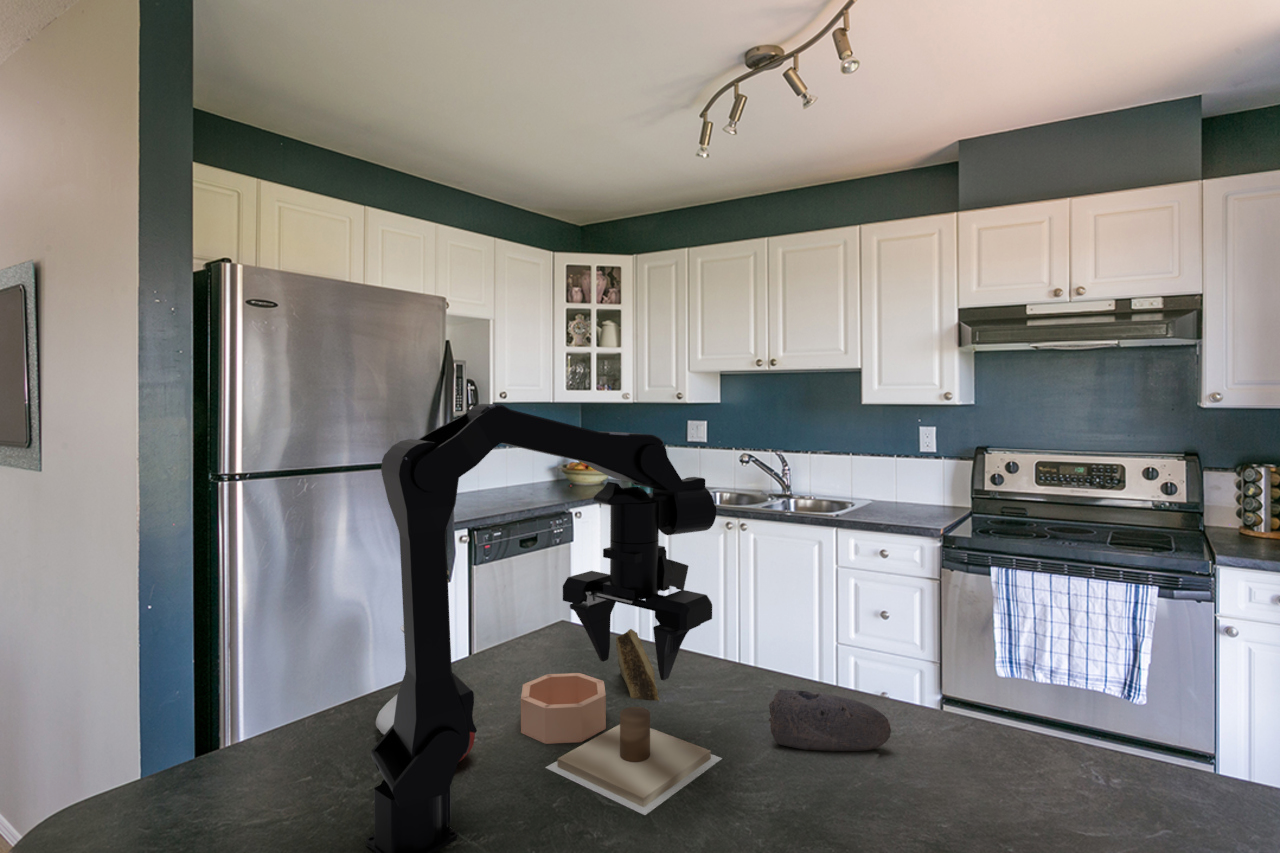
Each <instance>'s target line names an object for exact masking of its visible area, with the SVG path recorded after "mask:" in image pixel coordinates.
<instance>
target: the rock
mask: <svg viewBox="0 0 1280 853" xmlns="http://www.w3.org/2000/svg"><path fill="white" fill-rule="evenodd" d="M615 642H616V643H615V646H616V647H615V649H616V654H617V662H618V663H617V664H618V667H619V672H620V675H621V676H622V679H623V680H624V682H625V685H626V686H627V689H628V692H629V696H630V698H631V699H635V700H643V701H660V697H659V692H658V688H657V685H656V683H657V682H656V678H655V677H656V675H655V670H654V667H653V664H652V663H651V661H650V658H649V656H648V655H647V652H646V651H645V649H644V646H643V643H642V640H641V639H640V637H639V634H638V632H636V631H635V630H634V629H632V628H630V629H628V630H627V631H626V632H624V633H623V634H620V635H619V636H616V637H615Z"/></svg>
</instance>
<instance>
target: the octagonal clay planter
mask: <svg viewBox="0 0 1280 853" xmlns="http://www.w3.org/2000/svg"><path fill="white" fill-rule="evenodd" d="M521 690H522V691H521V696H520V734H523V735H524V736H527V737H529V738H531V739H534V740H536V741H538V742H540V743H543V744H545V745H546V744H548V745H549V744H551V745H552V744H570V743H572V744H573V743H583V742H584V741H587V740H588V739H590V738H592V737H593V736H596V735H597V734H599V733H600V732H603V731H605V730H606V729H607V727H606V726H607V724H606V723H607V721H606V720H607V718H606V715H607V709H606V708H607V706H606V705H607V695H606V689H605V681H604V680H602V679H598V678H596V677H592V676H589V675H587V674H583V673H581V672H569V673H547V674H545V675H542V676H540V677H537V678H535V679H532V680H530V681H527V682H526V683H522V689H521Z"/></svg>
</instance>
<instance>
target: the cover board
mask: <svg viewBox="0 0 1280 853" xmlns="http://www.w3.org/2000/svg"><path fill="white" fill-rule="evenodd" d="M711 752H712V751H711V750H710V749H707V748H705V747H702V746H700V745H697V744H694V743H691V742H689V741H686V740H683V739H682V738H678V737H676V736H672V735H670V734H667V733H665V732H662V731H659V730H657V729H654V728H651V712H650V710H649V709H647V708H645V707H642V706H628V707H626V708H623V709H621V711H619V724H618V725H616V726H613V728H611V729H609V730H606V731H604V732H603V733H601V734H599V735H597V736H596V737H594V738H592V739H591V740H589V741H586V742H585V743H583V744H581V745H579V746H578V747H575V748H574V749H572V750H570V751H568V752H567V753H565V754H562V756H559V757H557V767H559V768H561V769H563V770H565V771H567V772H570V773H572V774H574V775H576V776H578V777H580V778H582V779H584V780H587V781H589V782H591V783H593V784H595V785H597V786H599V787H602V788H604V789H606V790H608V791H610V792H612V793H614V794H616V795H619V796H621V797H623V798H625V799H627V800H629V801H631V802H633V803H636V804H638V805H640V806H642V807H644V806H646V805H647V804H649V803H650V802H651V801H653V800H654V799H656V798H657V797H658V796H660V795H661V794H663V793H664V792H665V791H667V790H668V789H669V788H671V787H672V786H674V785H675V784H676V783H678V782H679V781H681V780H682V779H683V778H685V777H686V776H688V775H689V774H690V773H692V772H693V771H695V770H696V769H697V768H699V767H700V766H701V765H703V764H704V763H706V762H707V761H708V760H710V759H711V754H712V753H711Z"/></svg>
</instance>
